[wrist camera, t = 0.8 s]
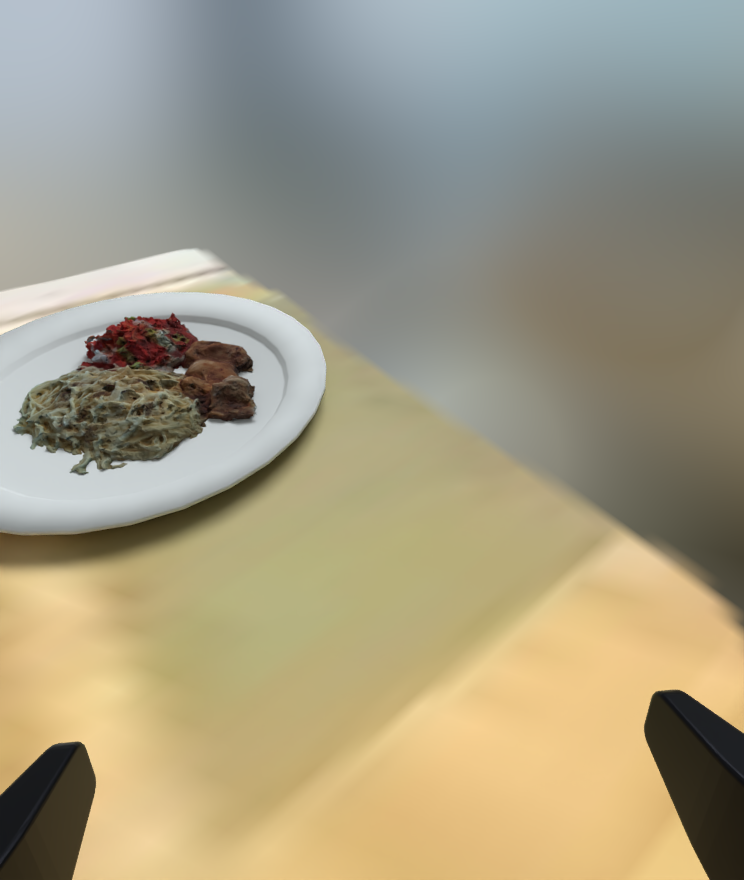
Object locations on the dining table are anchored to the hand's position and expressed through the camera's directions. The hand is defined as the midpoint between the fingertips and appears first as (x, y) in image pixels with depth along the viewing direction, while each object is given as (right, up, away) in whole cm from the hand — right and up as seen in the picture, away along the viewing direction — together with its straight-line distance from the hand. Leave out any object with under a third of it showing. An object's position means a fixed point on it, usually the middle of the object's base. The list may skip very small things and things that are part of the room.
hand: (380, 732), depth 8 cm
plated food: (-19, +8, +33) cm, 39 cm away
